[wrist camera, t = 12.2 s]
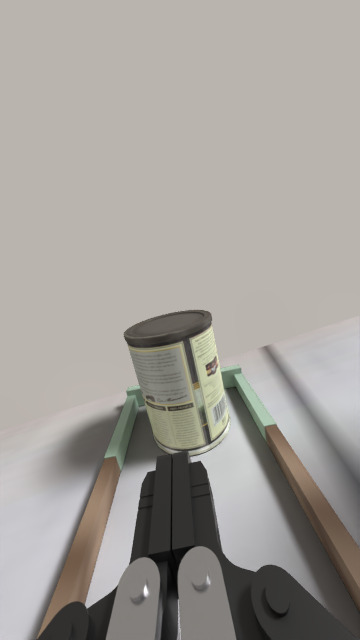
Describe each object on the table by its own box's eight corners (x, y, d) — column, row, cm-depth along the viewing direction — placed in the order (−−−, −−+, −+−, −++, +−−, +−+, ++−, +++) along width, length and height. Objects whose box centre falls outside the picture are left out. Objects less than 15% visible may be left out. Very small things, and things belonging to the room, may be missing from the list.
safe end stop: (278, 440, 22) (275, 416, 22) (109, 473, 23) (101, 451, 22) (241, 381, 35) (238, 364, 34) (132, 403, 35) (127, 387, 34)
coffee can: (162, 402, 33) (141, 317, 30) (228, 396, 31) (211, 305, 28) (141, 459, 24) (105, 343, 21) (234, 456, 22) (210, 326, 18)
